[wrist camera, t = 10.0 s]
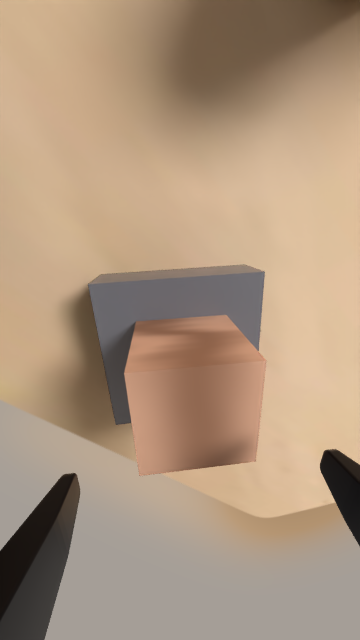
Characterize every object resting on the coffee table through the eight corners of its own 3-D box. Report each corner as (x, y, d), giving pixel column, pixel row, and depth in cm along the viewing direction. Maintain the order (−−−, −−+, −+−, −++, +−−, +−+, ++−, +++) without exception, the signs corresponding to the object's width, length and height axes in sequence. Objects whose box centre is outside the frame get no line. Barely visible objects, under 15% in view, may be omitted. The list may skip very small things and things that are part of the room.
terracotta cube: (144, 396, 17) (139, 475, 11) (136, 321, 15) (124, 373, 9) (224, 388, 18) (256, 461, 12) (226, 314, 15) (266, 360, 10)
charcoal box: (122, 391, 21) (115, 424, 18) (102, 273, 18) (88, 284, 14) (237, 379, 22) (253, 408, 19) (242, 263, 18) (264, 271, 15)
